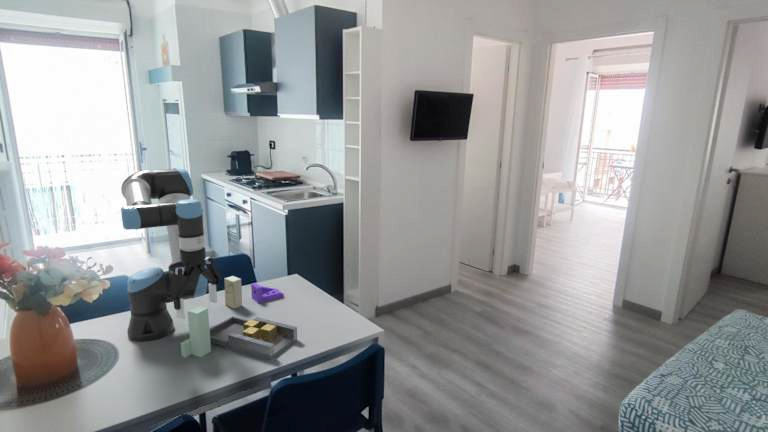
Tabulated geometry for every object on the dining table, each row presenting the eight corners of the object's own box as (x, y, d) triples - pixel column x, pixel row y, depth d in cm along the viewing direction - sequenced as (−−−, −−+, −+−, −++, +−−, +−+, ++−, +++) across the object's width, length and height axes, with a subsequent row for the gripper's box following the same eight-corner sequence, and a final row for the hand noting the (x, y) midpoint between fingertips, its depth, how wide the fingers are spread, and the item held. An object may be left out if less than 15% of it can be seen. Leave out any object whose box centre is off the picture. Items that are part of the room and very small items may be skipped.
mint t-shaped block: (181, 356, 145) (177, 312, 141) (203, 344, 153) (199, 302, 149) (195, 361, 142) (191, 316, 139) (216, 348, 150) (213, 305, 147)
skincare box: (225, 305, 184) (223, 278, 181) (234, 301, 188) (232, 275, 185) (234, 309, 181) (232, 281, 178) (243, 305, 184) (241, 278, 181)
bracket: (258, 303, 187) (257, 288, 186) (251, 298, 192) (251, 283, 191) (283, 296, 194) (283, 282, 193) (277, 292, 200) (276, 278, 198)
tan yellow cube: (260, 338, 154) (260, 328, 153) (267, 333, 158) (267, 323, 157) (269, 341, 153) (269, 330, 152) (276, 336, 156) (276, 326, 155)
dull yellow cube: (244, 334, 157) (243, 324, 156) (251, 329, 161) (251, 319, 160) (252, 336, 156) (252, 326, 155) (260, 331, 159) (259, 321, 158)
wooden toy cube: (243, 341, 152) (242, 331, 151) (251, 336, 155) (250, 326, 155) (252, 344, 150) (251, 333, 149) (260, 339, 154) (259, 328, 153)
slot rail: (228, 348, 151) (227, 334, 149) (257, 329, 164) (257, 317, 163) (270, 360, 143) (270, 346, 142) (297, 339, 157) (296, 327, 156)
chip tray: (201, 340, 155) (200, 334, 154) (233, 322, 169) (232, 316, 169) (226, 348, 150) (226, 341, 150) (257, 328, 165) (257, 322, 164)
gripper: (167, 260, 126) (174, 327, 131) (229, 240, 148) (233, 297, 153) (149, 257, 129) (156, 322, 134) (213, 237, 151) (217, 294, 156)
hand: (197, 309), depth 143 cm, fingers open, 13 cm apart
